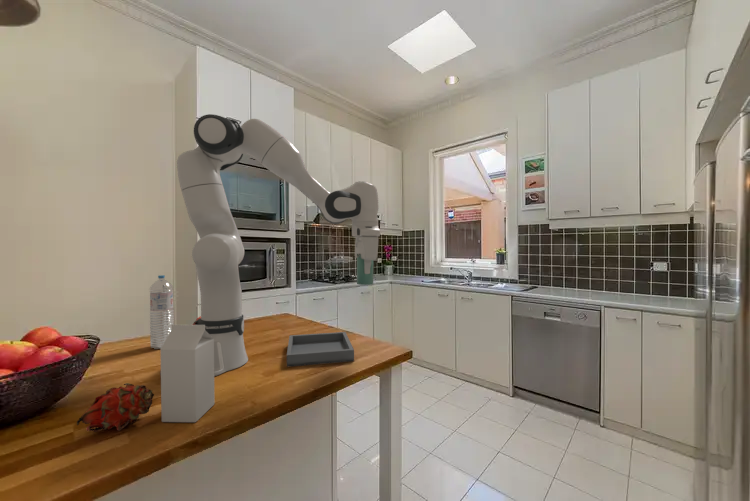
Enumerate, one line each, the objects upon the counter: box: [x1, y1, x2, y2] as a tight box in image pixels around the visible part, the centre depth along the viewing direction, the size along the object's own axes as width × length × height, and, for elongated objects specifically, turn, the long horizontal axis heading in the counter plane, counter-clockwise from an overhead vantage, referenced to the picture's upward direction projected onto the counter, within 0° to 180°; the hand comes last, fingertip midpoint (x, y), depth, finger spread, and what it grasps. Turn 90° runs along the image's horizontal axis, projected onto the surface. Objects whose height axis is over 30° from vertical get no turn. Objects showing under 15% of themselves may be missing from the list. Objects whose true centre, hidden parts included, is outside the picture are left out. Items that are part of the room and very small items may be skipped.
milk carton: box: [159, 324, 216, 423], centre depth 66 cm, size 7×7×19 cm
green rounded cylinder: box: [356, 254, 374, 286], centre depth 104 cm, size 6×6×10 cm
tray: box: [286, 331, 355, 368], centre depth 103 cm, size 20×20×4 cm
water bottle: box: [149, 274, 175, 350], centre depth 109 cm, size 7×7×25 cm
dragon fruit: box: [76, 382, 156, 433], centre depth 62 cm, size 8×8×12 cm
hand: (364, 272), depth 104 cm, fingers closed on green rounded cylinder, 6 cm apart
